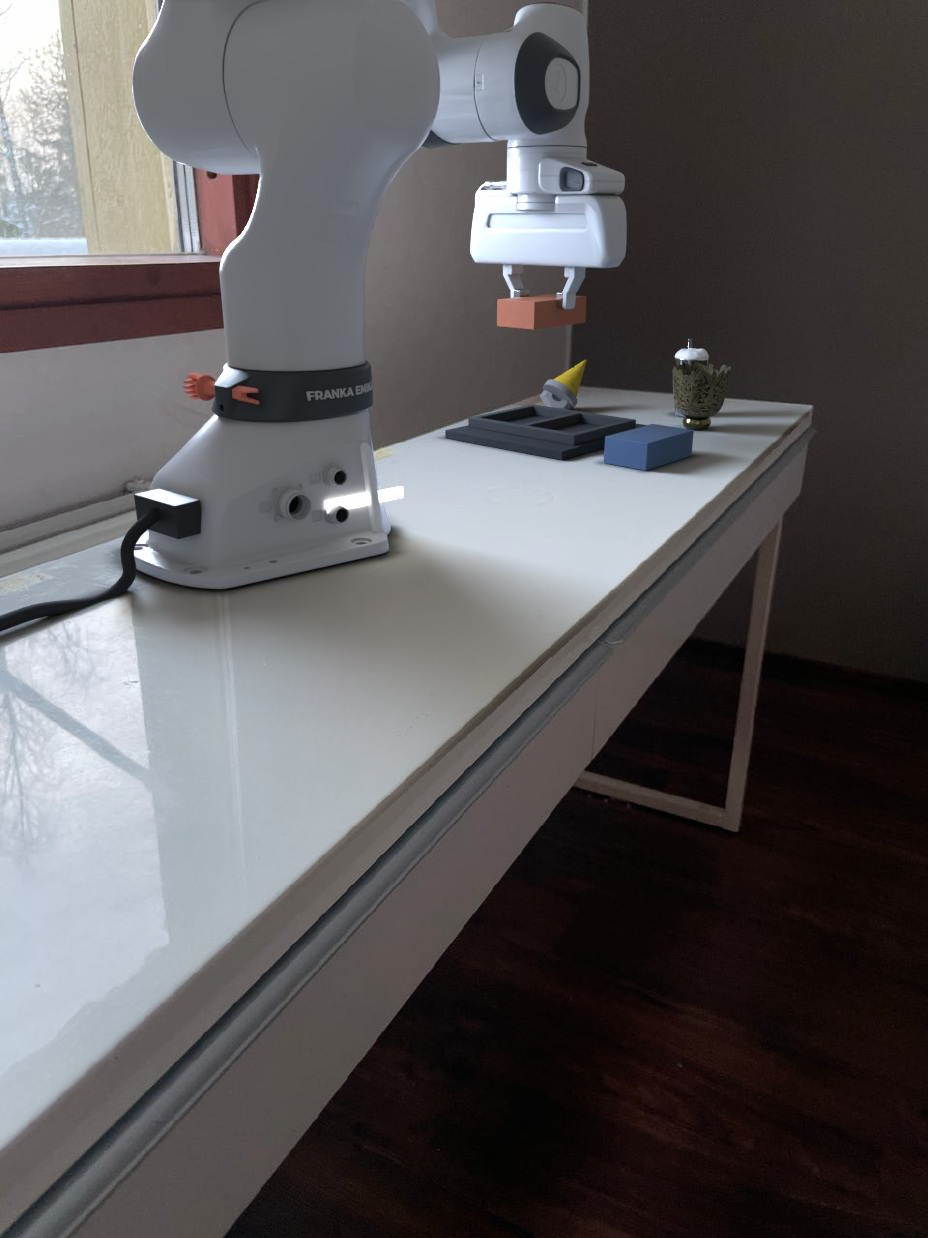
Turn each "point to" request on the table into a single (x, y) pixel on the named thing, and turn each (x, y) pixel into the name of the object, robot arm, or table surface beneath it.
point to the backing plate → (542, 430)
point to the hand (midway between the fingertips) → (542, 306)
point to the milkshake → (690, 359)
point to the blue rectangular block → (648, 446)
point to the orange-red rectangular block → (538, 312)
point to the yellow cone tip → (563, 388)
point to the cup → (699, 393)
